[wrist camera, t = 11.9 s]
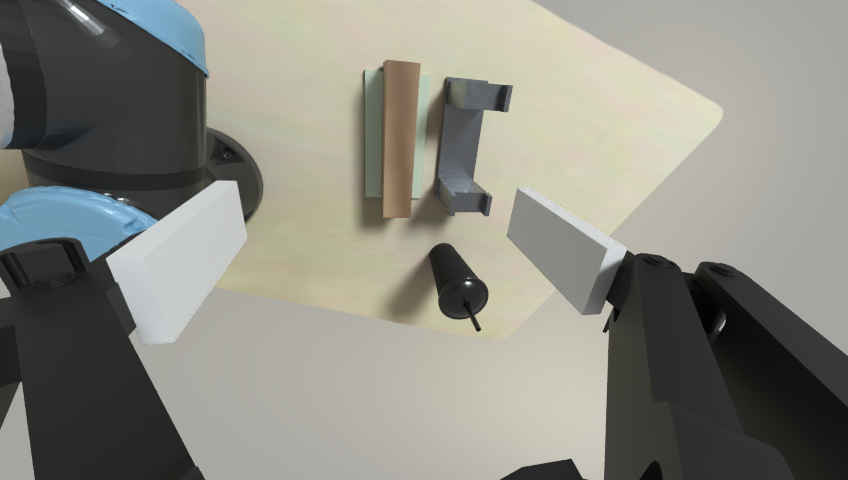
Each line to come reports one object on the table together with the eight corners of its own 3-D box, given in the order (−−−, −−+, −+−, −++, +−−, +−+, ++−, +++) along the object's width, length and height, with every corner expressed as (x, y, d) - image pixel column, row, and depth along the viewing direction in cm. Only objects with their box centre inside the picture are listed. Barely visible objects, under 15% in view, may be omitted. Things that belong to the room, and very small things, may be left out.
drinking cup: (449, 228, 56) (491, 295, 38) (469, 257, 59) (515, 331, 42) (414, 251, 56) (439, 328, 39) (435, 278, 60) (467, 360, 43)
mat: (365, 196, 50) (365, 197, 50) (364, 69, 42) (364, 69, 42) (420, 197, 52) (420, 198, 51) (429, 75, 44) (430, 75, 43)
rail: (380, 203, 51) (383, 217, 45) (383, 62, 42) (386, 59, 36) (405, 203, 51) (410, 217, 46) (412, 65, 43) (420, 63, 37)
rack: (434, 197, 52) (449, 219, 44) (446, 77, 45) (466, 76, 36) (468, 197, 54) (488, 219, 45) (486, 81, 46) (514, 81, 37)
